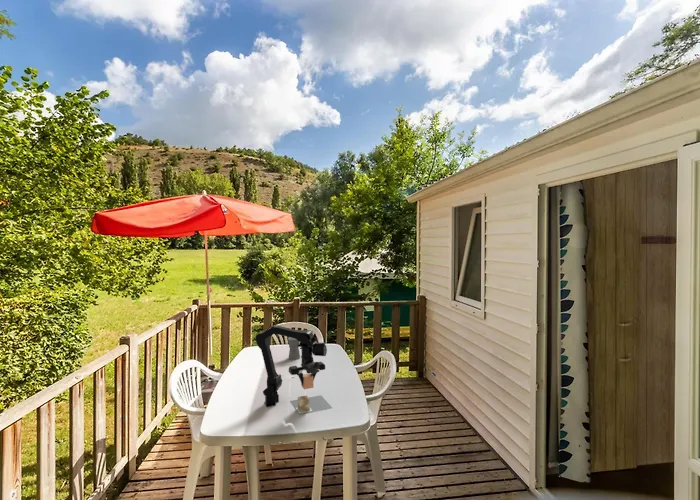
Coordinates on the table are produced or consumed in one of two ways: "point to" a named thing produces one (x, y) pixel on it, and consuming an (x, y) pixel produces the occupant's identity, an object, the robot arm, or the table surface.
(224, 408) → the table surface
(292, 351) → the coffeepot
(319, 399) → the board
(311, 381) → the terracotta block
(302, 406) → the maple block
